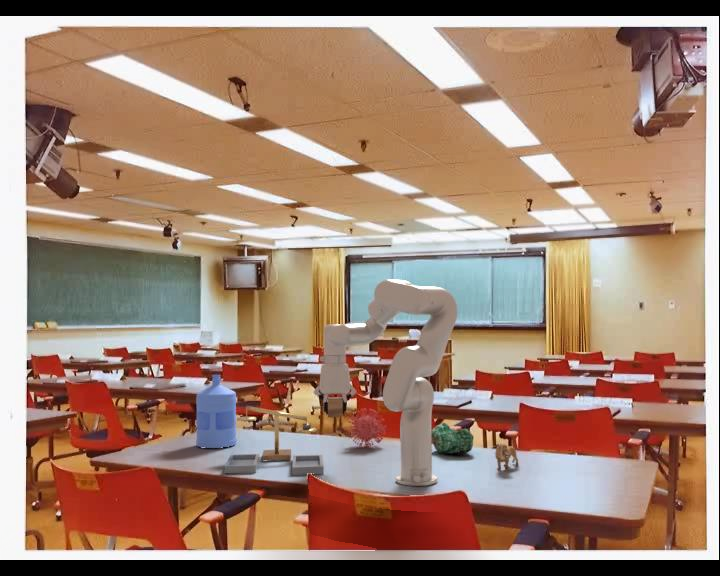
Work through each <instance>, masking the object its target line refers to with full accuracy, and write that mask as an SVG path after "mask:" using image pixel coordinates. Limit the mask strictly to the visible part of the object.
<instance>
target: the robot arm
mask: <svg viewBox="0 0 720 576" xmlns="http://www.w3.org/2000/svg"><path fill="white" fill-rule="evenodd" d="M373 297H374V299H373V300H371V302H369V304H368V305H367V311H368V314H369V316H370V317H369V318H368V319H367V320H365V321H364V322H362V323H344V324H342V323H341V324H339V323H338V324H337V323H333V324H332V323H331V324H325V326H324V327H323V356H319V362H323V363H322V364H321V366H320V375H319V378H320V380H319V383H318V385H317V386H316V388H315V389H314V390H313V394H314V395H315V396H316V397H318V398H319V399H320V400H321V401H322V402H323V412H325V415H328V398H329V395H341V396H342V398H343V415H345V412H347V402H348V401H350V399H351V398H352V397H353V396H354V395H356V394H357V390H356V389H355V388H354V386H353V385H352V384H351V378H350V368H349V364H348V363H347V362H346V361H347V358H346V357H347V353H346V352H347V349H346V348H347V347H357V346H360V347H361V346H366V345H370V344H371V343H373V342H374V341H375V340H377V339H378V338H379V337H380V336H382V334H384V332H385V331H386V328H387V326H388V323H389V322H390V321H392V320H393V319H394V318H395V317H396V316H398V315H399V314H400V313H404V314H408V315H414V316H427V315H428V316H429V315H430V317H429V318H428V320H427V321H426V323H425V324H424V326H423V327H422V329H421V331H420V334H419V335H420V336H419V337H418V340H417V343H416V344H415V345H410V346H405V347H403V348H400V349H399V350H398V351H397V352H396V354H395V355H394V357H393V358H392V361H391V364H390V367H389V370H388V373H387V376H386V379H385V382H384V386H383V390H382V401H383V403H384V406H385V407H386V408H387V409H388V410H389V411H392V412H395V413H396V412H397V413H398V412H400V413H401V412H402V413H401V416H400V423H399V428H400V429H399V431H400V434H399V435H400V437H399V438H400V440H399V442H400V444H399V445H400V446H399V447H400V474H399V475H396V476H395V481H396V483H398V484H399V485H403V486H410V487H411V486H412V487H421V486H422V487H423V486H425V487H426V486H431V485H434V484H436V483H437V482H438V476H436V475H435V474H433V460H432V459H433V458H432V457H433V453H432V452H433V450H432V448H433V447H432V444H433V441H432V437H431V430H432V412H433V404H434V397H435V393H434V392H435V391H434V388H433V386H432V385H433V384H432V383H431V382H430V381H429V380H427V379H426V377H431V376H434V375H435V374H436V373H437V372H438V370H439V369H440V367H441V363H442V360H443V358H444V355H445V351H446V349H447V346H448V342H449V340H450V336H451V334H452V332H453V329H454V327H455V325H456V322H457V318H458V305H457V301H456V299H455V297H454V296H453V294H452V293H451V292H450V291H448V290H447V289H445V288H442V287H440V286H439V287H438V286H419V285H414V284H413V283H411V282H410V281H408V280H404V279H384V280H381V281H380V282H379V283H378V284H377V285H376V286H375V288H374V291H373Z"/></svg>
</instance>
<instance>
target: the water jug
mask: <svg viewBox="0 0 720 576" xmlns="http://www.w3.org/2000/svg"><path fill="white" fill-rule="evenodd" d="M211 380H212V384H211V385H210V386H208V387H207V388H204V389H203V390H201V391H199V392H197V393H196V398H195V399H196V400H195V401H196V402H195V404H196V419H195V422H196V424H195V425H196V441H195V443H196V446H197V447H198V446H199V447H205V448H221V447H228V446H232V447H234V446H236V444H237V405H236V404H237V392H236V391H234V390H232V389H231V388H228V387H226V386H224V385H222V384H221V374H212V379H211ZM233 445H234V446H233ZM199 447H198V448H199ZM228 448H229V447H228Z"/></svg>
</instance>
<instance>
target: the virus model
mask: <svg viewBox="0 0 720 576" xmlns="http://www.w3.org/2000/svg"><path fill="white" fill-rule="evenodd" d="M367 411H368V410H367V408H365V407H364V408H360V409H359V410H358V411H357V413H359V414H360V417H359V418H358V416H356V417H355V415H354V414H352V415H351V417H350V420H349V421H348V423H349V424H353V425H350V426H349V428H348V429H349V430H347V432H348V437H349V438H350V439H352V438H353V437H354V438H353V440H352V441H353V442H354V443H355V444H356V445H357V446H358V445H359V446H360V447H364V448H370V447H372V446H374V445H375V444H374V442H376V443H377V444H380V443H381V442H382V440H383V439H384V436H385V435H386V430H387V424H385V425H383V423H381V422H385V418H383V417H382V415H378V414H379V412H377V410H375V409H372V408H369V413H368V414H367ZM376 418H377V419H376ZM378 418H379V419H378ZM381 434H382V435H383V436H382V435H381ZM355 436H356V437H355ZM373 439H374V441H372V440H373ZM357 441H358V442H357ZM360 441H361V442H360ZM359 442H360V443H359ZM363 443H364V444H363ZM363 445H364V446H363Z"/></svg>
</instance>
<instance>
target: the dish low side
mask: <svg viewBox="0 0 720 576" xmlns="http://www.w3.org/2000/svg"><path fill="white" fill-rule="evenodd" d="M323 459H324V458H323V454H315V455H314V454H313V455H312V454H309V455H308V454H307V455H304V454H302V455H293V456H292V465H291V466H292V471H291V473H292V476H304V475H303V474H306V475H305V476H308V475H307V473H312V474H313V473H314V474H319V475H324V473H325V472H324V460H323Z"/></svg>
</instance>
